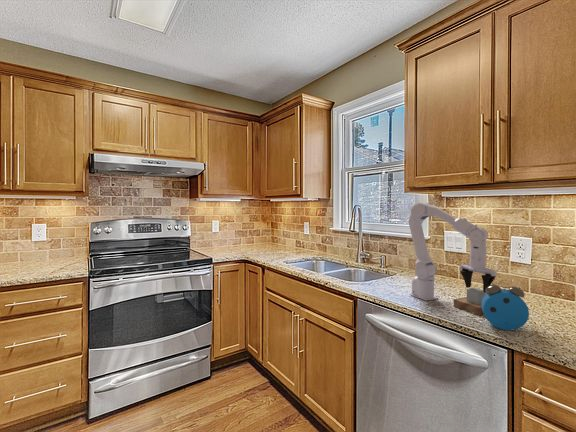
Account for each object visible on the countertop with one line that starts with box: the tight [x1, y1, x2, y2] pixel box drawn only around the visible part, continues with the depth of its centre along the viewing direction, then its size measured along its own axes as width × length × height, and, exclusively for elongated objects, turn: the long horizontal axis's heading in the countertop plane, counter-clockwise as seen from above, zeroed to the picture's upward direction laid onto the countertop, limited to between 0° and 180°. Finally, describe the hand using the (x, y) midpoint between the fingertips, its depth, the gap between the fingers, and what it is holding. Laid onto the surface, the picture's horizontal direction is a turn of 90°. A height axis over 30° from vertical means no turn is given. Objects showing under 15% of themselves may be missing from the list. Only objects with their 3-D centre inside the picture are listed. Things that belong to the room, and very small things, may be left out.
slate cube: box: [466, 287, 486, 304], centre depth 129 cm, size 5×5×5 cm
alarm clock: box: [481, 284, 530, 331], centre depth 109 cm, size 13×6×15 cm, turn 66°
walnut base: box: [453, 296, 485, 316], centre depth 129 cm, size 12×12×3 cm
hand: (476, 289), depth 129 cm, fingers open, 7 cm apart
